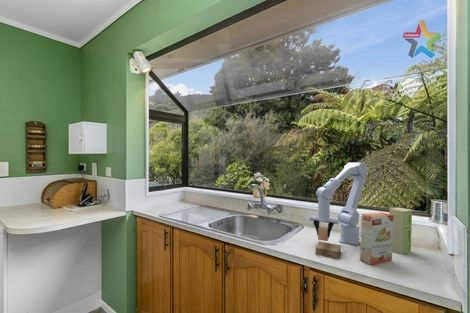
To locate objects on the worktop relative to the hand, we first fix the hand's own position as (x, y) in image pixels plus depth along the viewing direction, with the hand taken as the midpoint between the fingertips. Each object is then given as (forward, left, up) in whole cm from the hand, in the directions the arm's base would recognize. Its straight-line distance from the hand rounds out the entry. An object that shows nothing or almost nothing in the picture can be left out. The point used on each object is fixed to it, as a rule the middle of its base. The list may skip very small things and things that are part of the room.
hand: (323, 235), depth 126 cm
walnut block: (-4, +11, -4) cm, 13 cm away
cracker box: (-24, +9, -5) cm, 26 cm away
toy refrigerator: (-35, -11, -5) cm, 37 cm away
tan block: (0, 0, -2) cm, 2 cm away
